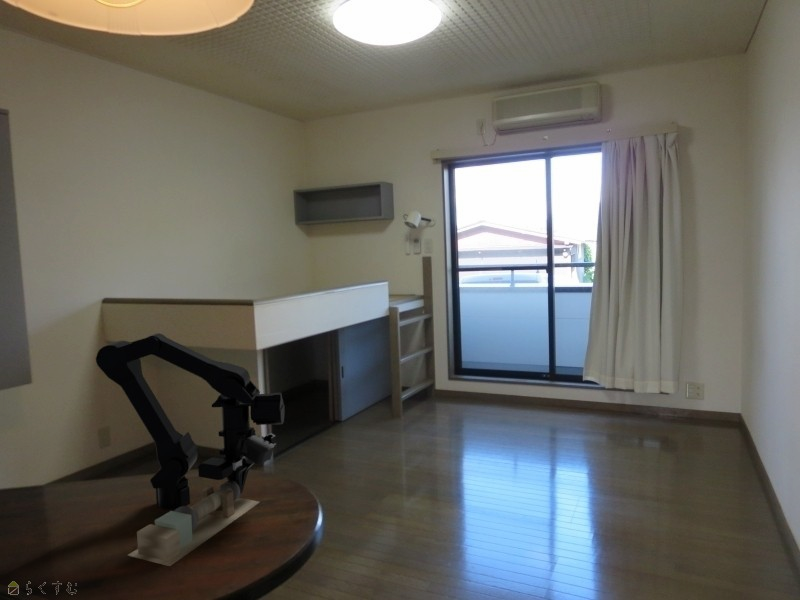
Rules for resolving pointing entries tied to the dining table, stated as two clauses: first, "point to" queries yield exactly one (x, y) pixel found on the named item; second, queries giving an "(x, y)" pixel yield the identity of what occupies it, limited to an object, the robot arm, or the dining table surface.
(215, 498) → the shaft
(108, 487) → the dining table surface
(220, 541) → the dining table surface
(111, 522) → the dining table surface
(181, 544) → the block
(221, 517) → the bench
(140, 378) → the robot arm
